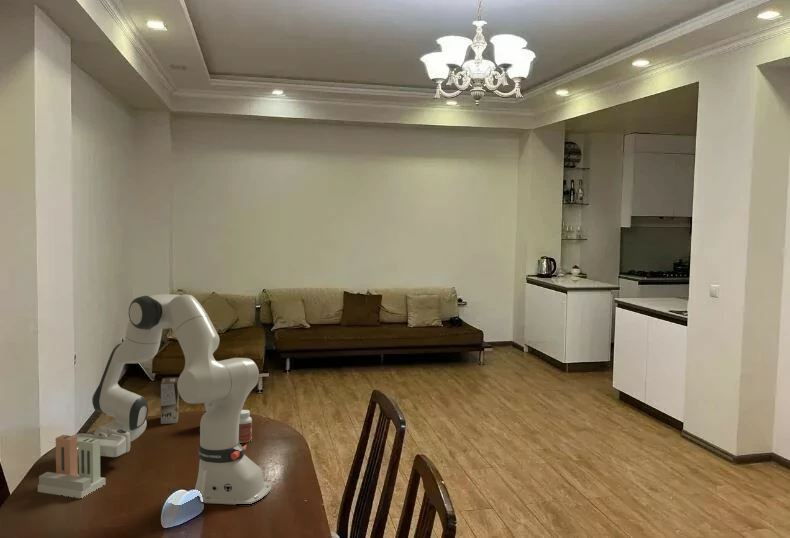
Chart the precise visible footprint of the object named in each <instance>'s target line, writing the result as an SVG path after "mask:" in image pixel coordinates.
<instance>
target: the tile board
mask: <svg viewBox="0 0 790 538" xmlns="http://www.w3.org/2000/svg"><path fill="white" fill-rule="evenodd" d="M106 479H107V478H106V477H101V476H100V479H99V480H97V481H95V482H94V483H93V482H91V478H85V477H79V473H78V475H77V476H72V475H65V474H58V473H56V472H51V471H47V472H44V473H42V474H40V475H39V476H38V484H37V492H38V493H42V494H49V495H56V496H61V495H63V496H62V497H68V496H69V498H74V497H75V498H74V499H80V498H82V499H83V497H84V496H85V497H87V496H89V495H90V494H92V493H93V491H94V492H95V491H97V490H98V488H99V489H100V488H102V487H104V486H105V485H106V482H107V481H106ZM103 485H104V486H103ZM96 489H97V490H96ZM91 492H92V493H91ZM89 493H90V494H89ZM88 494H89V495H88ZM86 495H87V496H86ZM85 497H84V498H85Z"/></svg>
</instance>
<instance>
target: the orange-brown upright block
mask: <svg viewBox="0 0 790 538" xmlns="http://www.w3.org/2000/svg"><path fill="white" fill-rule="evenodd" d="M55 473H58V474H65V475H72V476H77V475H78V474H79V457H77V437H76V436H72V435H67V434H62V435H60V436H58V437H56V438H55Z"/></svg>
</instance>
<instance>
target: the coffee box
mask: <svg viewBox="0 0 790 538" xmlns="http://www.w3.org/2000/svg"><path fill="white" fill-rule="evenodd" d="M178 379H179V377H178V376H177V377H176V376H175V377H163V378H161V381H160V424H161V425H166V424H177V423H178V421H179V397H180V396H179V392H178V388H177V384H178Z"/></svg>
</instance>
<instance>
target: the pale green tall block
mask: <svg viewBox="0 0 790 538" xmlns="http://www.w3.org/2000/svg"><path fill="white" fill-rule="evenodd" d="M78 450H79V457H78V474H79V477H85V478H91V482H93V483H94V482H95V481H97V480H99V479H100V477H101V456H100V440H98V439H91V438H84V439H82V440H80V441H78Z"/></svg>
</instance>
